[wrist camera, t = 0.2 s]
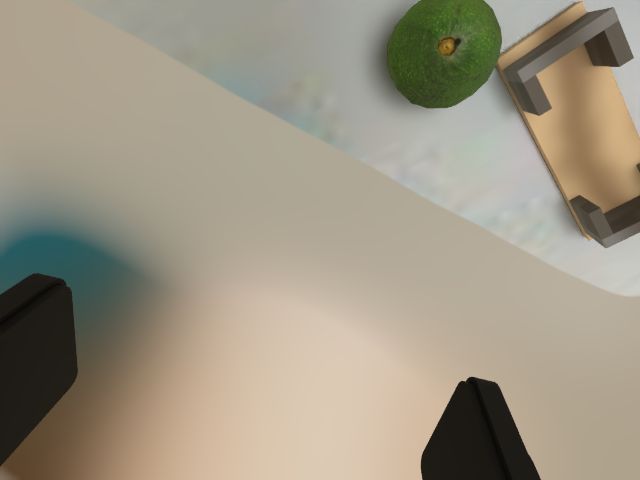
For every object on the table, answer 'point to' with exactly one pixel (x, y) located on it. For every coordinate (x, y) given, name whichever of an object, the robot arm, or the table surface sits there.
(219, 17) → the table surface
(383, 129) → the table surface
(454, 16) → the avocado
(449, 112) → the table surface
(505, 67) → the rail
